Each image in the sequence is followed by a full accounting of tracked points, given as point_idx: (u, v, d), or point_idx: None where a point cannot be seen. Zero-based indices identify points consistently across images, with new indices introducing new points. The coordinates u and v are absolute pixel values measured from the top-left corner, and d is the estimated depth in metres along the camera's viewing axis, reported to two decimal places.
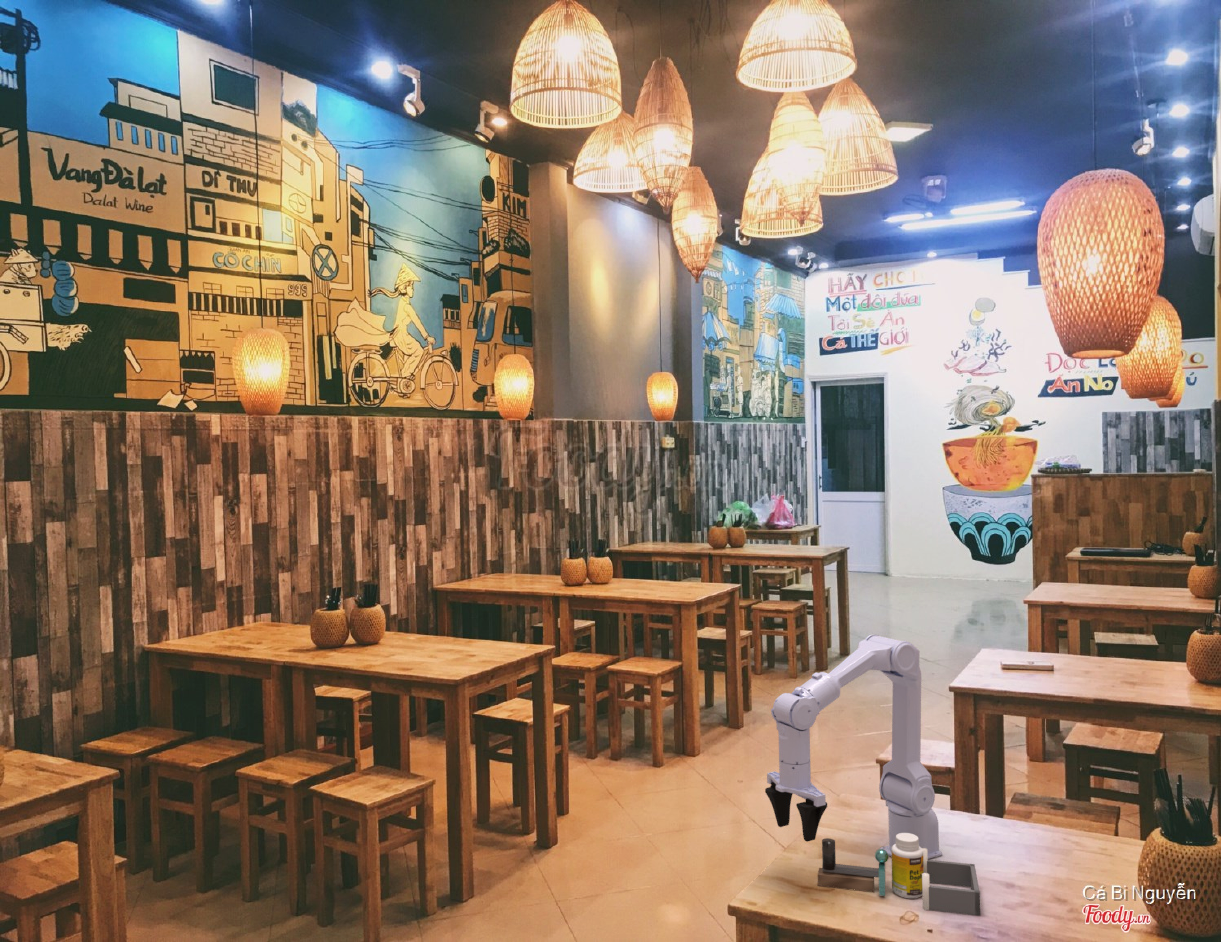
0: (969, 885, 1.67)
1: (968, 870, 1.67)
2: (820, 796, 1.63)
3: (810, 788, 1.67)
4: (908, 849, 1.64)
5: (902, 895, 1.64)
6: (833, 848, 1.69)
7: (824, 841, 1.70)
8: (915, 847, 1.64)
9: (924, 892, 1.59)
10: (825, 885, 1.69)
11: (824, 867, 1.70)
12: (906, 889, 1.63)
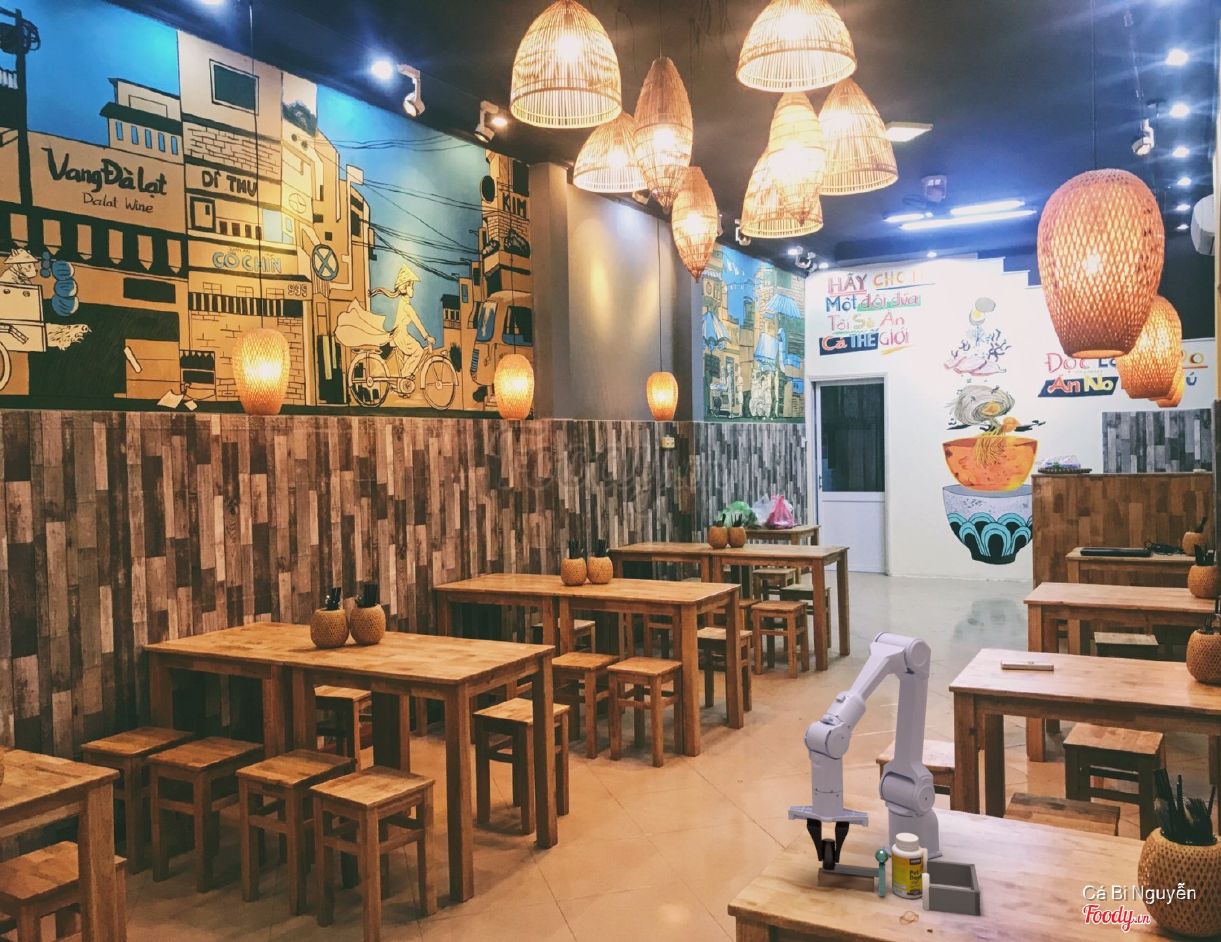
0: (969, 885, 1.67)
1: (968, 870, 1.67)
2: None
3: None
4: (908, 849, 1.64)
5: (902, 895, 1.64)
6: (833, 848, 1.69)
7: (824, 841, 1.70)
8: (915, 847, 1.64)
9: (924, 892, 1.59)
10: (825, 885, 1.69)
11: (824, 867, 1.70)
12: (906, 889, 1.63)
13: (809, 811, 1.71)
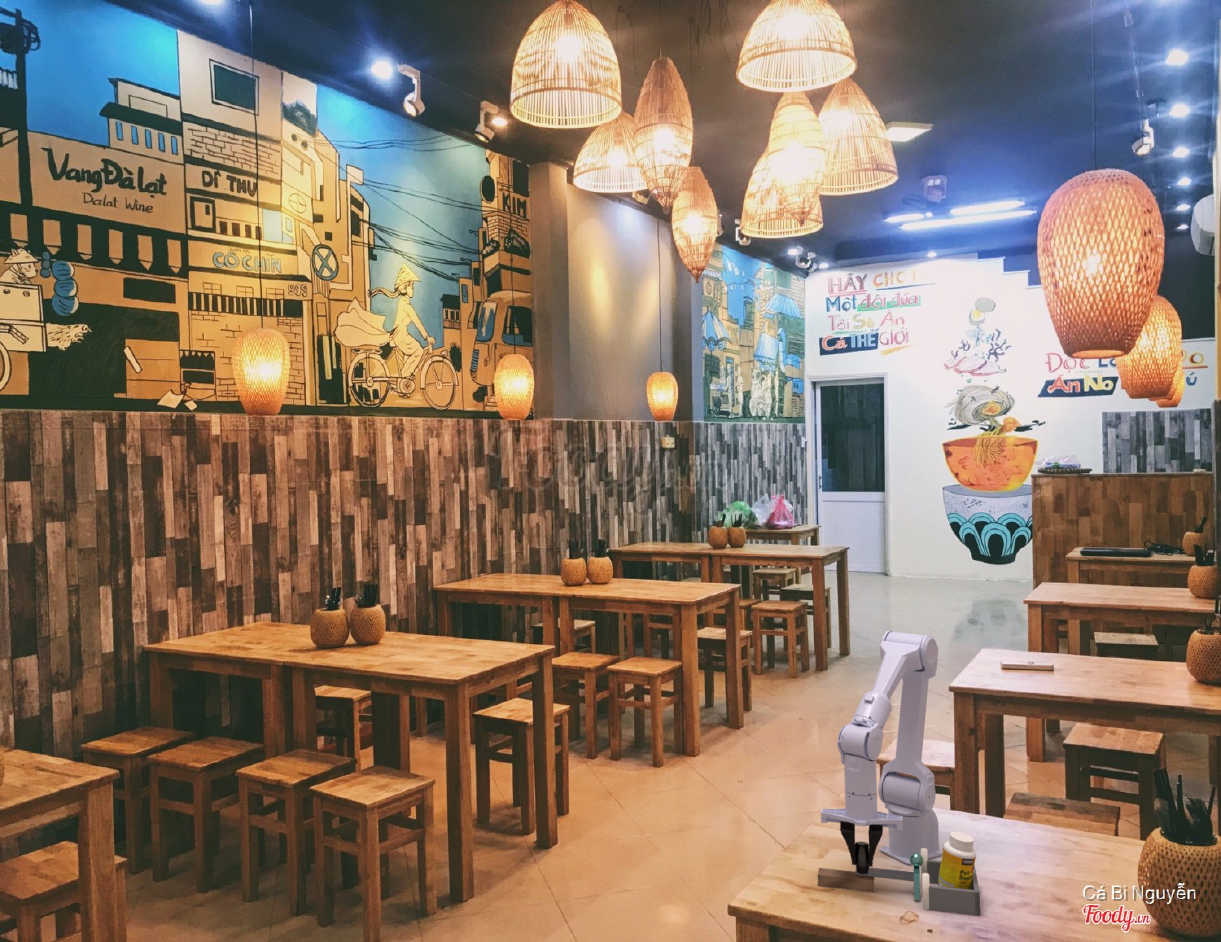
0: None
1: None
2: (902, 819, 1.66)
3: (877, 814, 1.69)
4: (962, 849, 1.61)
5: None
6: (867, 851, 1.67)
7: (857, 844, 1.68)
8: (969, 848, 1.61)
9: (924, 892, 1.59)
10: (825, 885, 1.69)
11: (858, 871, 1.68)
12: None
13: (842, 814, 1.69)
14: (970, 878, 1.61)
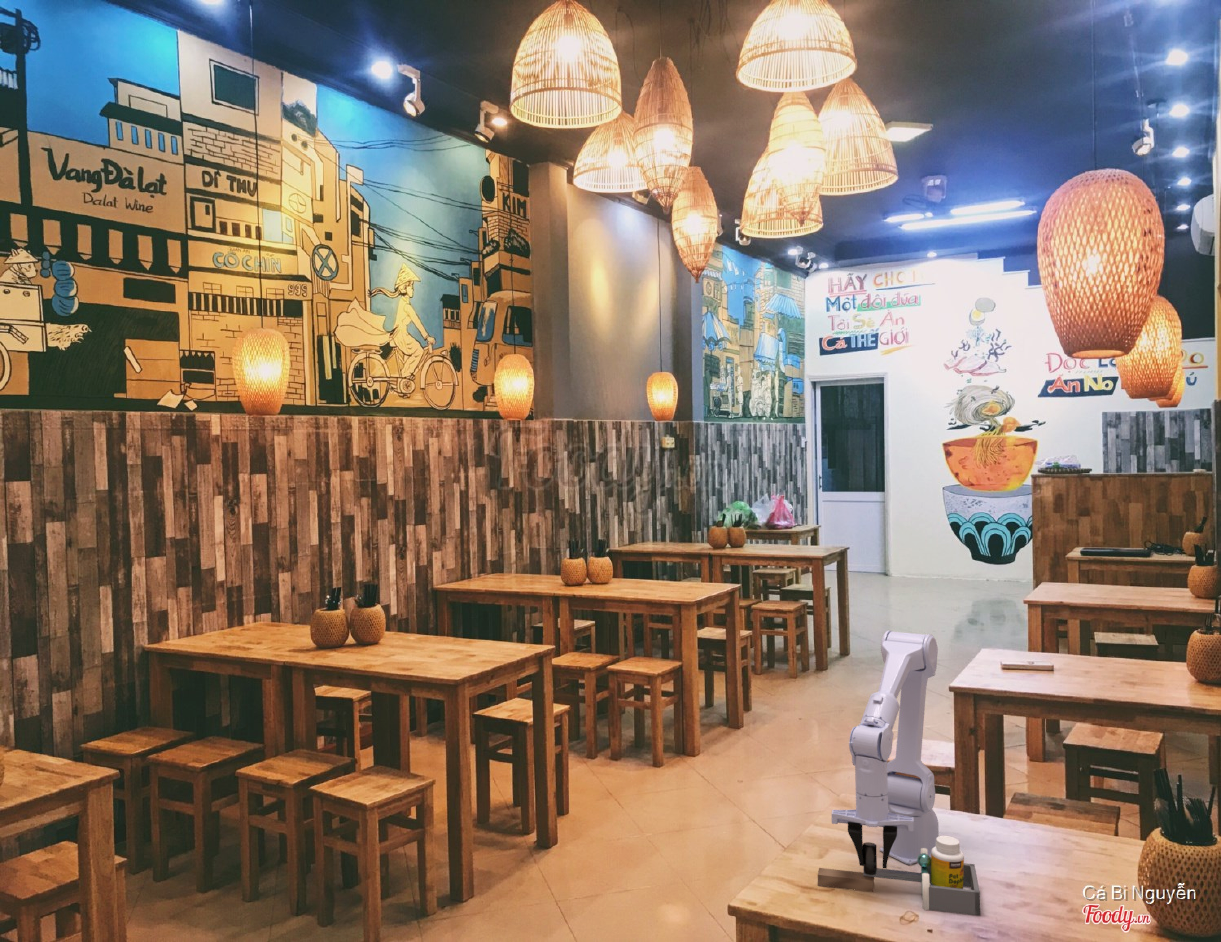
0: (969, 885, 1.67)
1: (968, 870, 1.67)
2: (913, 820, 1.65)
3: (888, 815, 1.68)
4: (949, 853, 1.62)
5: None
6: (874, 852, 1.67)
7: (865, 845, 1.68)
8: (955, 850, 1.62)
9: (924, 892, 1.59)
10: (825, 885, 1.69)
11: (865, 871, 1.67)
12: None
13: (853, 815, 1.68)
14: (960, 881, 1.62)
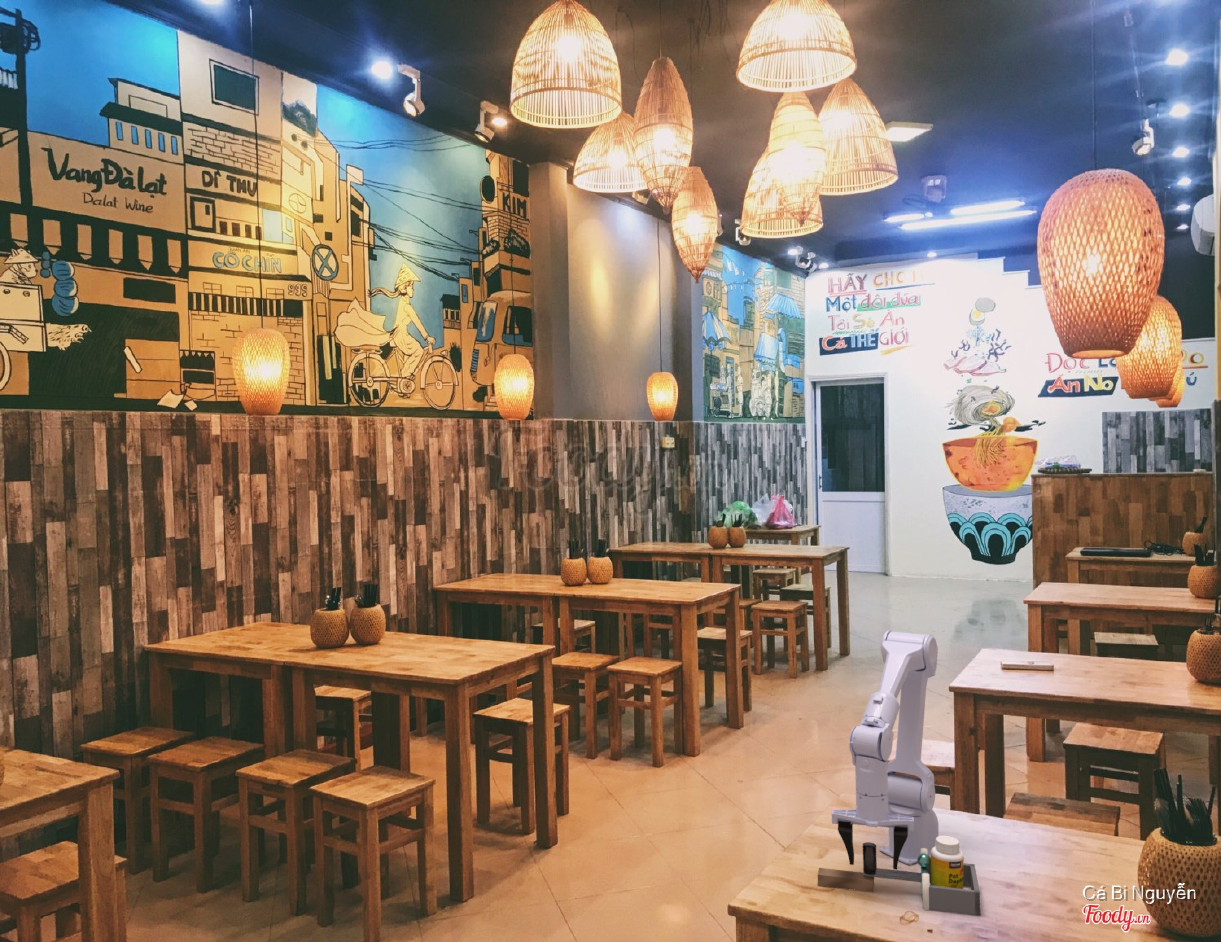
0: (969, 885, 1.67)
1: (968, 870, 1.67)
2: (913, 820, 1.65)
3: (888, 815, 1.68)
4: (948, 853, 1.62)
5: None
6: (874, 852, 1.67)
7: (865, 845, 1.68)
8: (955, 850, 1.62)
9: (924, 892, 1.59)
10: (825, 885, 1.69)
11: (865, 871, 1.67)
12: None
13: (853, 815, 1.68)
14: (960, 881, 1.62)
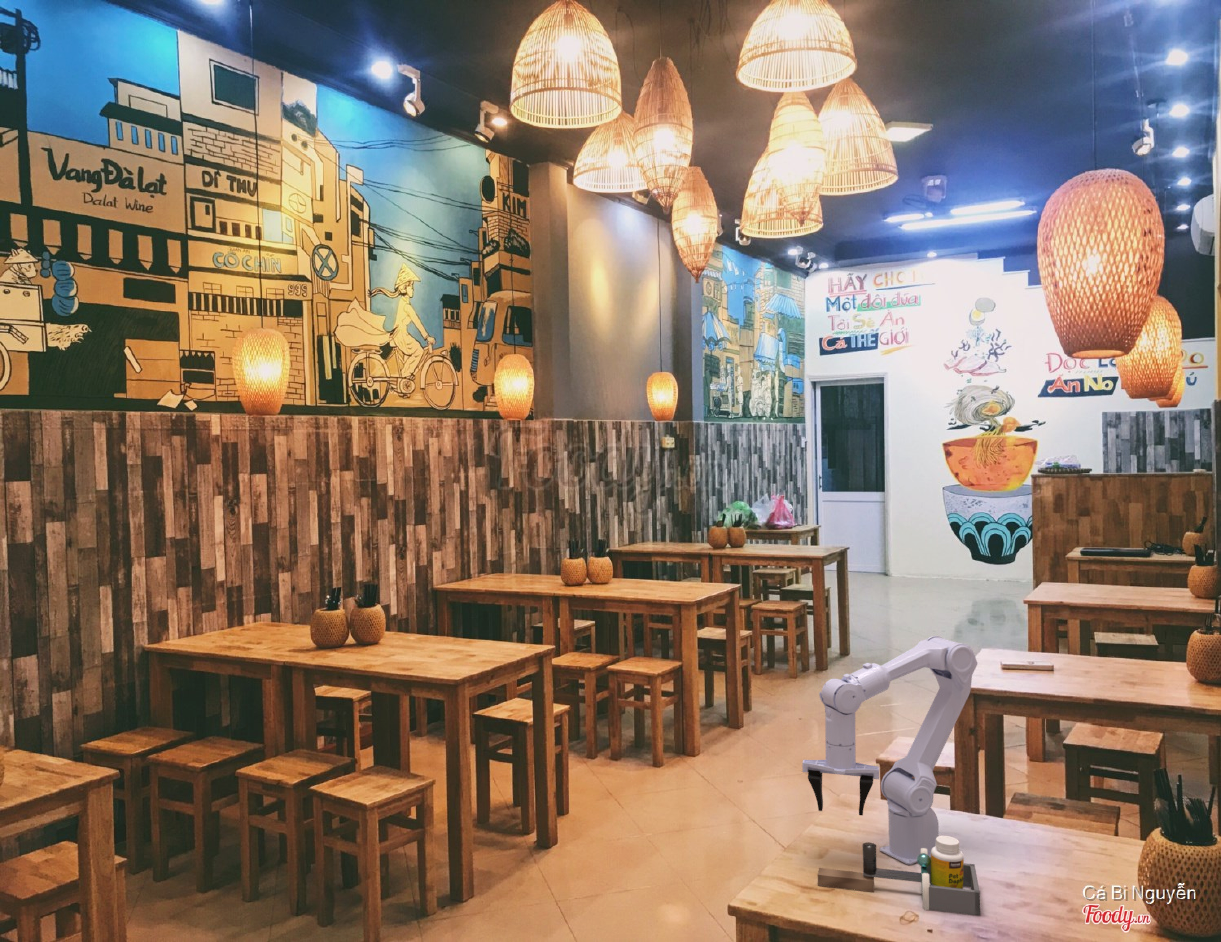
0: (969, 885, 1.67)
1: (968, 870, 1.67)
2: (878, 769, 1.76)
3: None
4: (948, 853, 1.62)
5: None
6: (874, 852, 1.67)
7: (865, 845, 1.68)
8: (955, 850, 1.62)
9: (924, 892, 1.59)
10: (825, 885, 1.69)
11: (865, 871, 1.67)
12: None
13: (822, 764, 1.79)
14: (960, 881, 1.62)
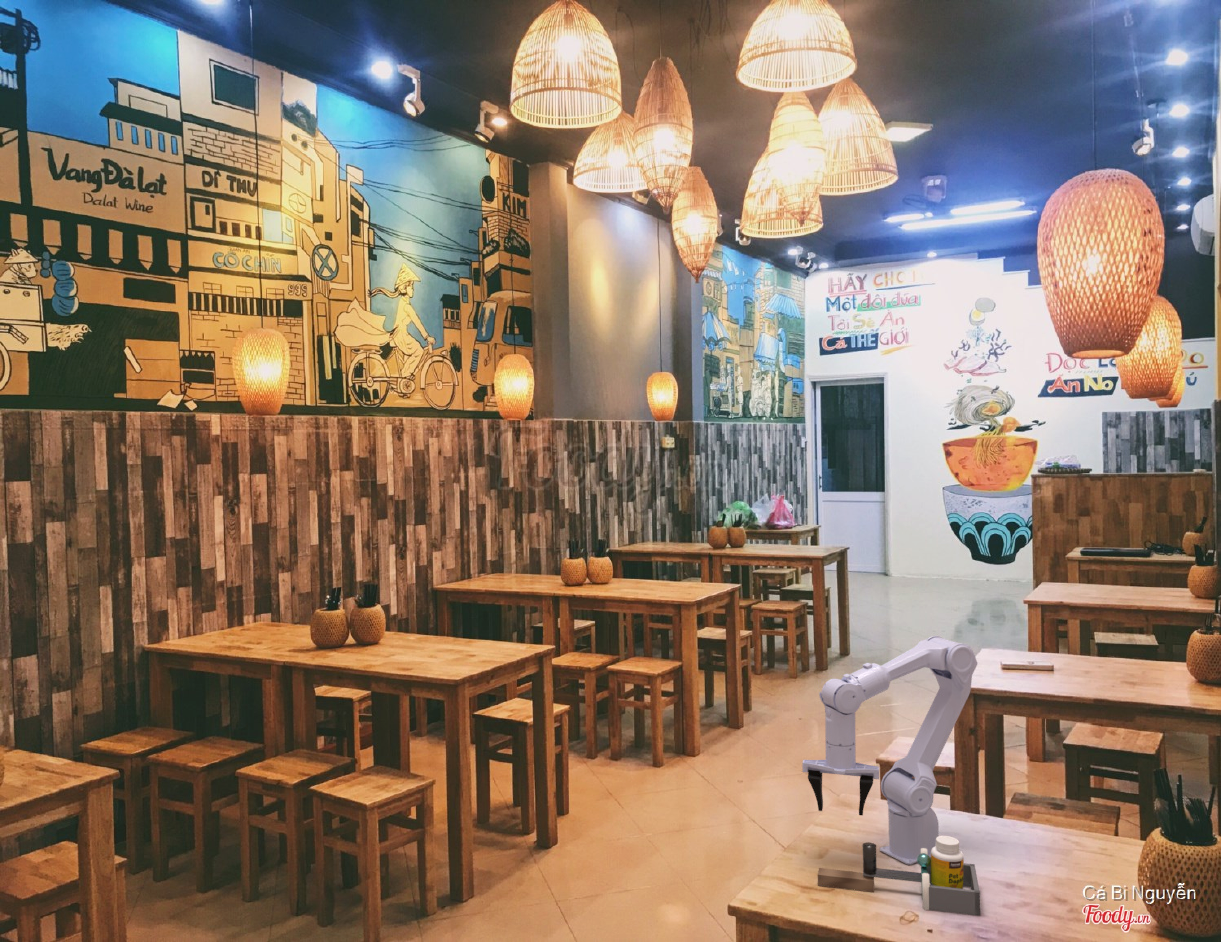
0: (969, 885, 1.67)
1: (968, 870, 1.67)
2: (878, 769, 1.76)
3: None
4: (948, 853, 1.62)
5: None
6: (874, 852, 1.67)
7: (865, 845, 1.68)
8: (955, 850, 1.62)
9: (924, 892, 1.59)
10: (825, 885, 1.69)
11: (865, 871, 1.67)
12: None
13: (822, 764, 1.79)
14: (960, 881, 1.62)
